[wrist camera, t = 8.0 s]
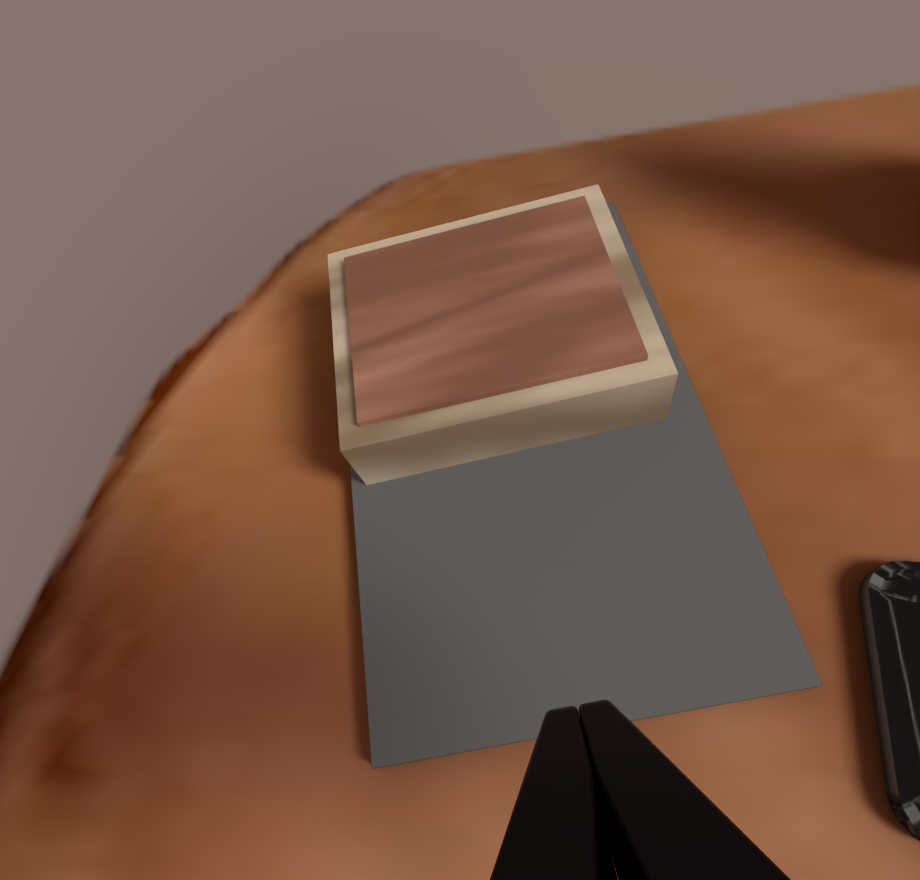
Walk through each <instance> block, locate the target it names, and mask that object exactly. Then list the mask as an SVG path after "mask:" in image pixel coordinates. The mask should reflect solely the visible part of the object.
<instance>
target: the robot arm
mask: <svg viewBox="0 0 920 880" xmlns="http://www.w3.org/2000/svg"><path fill="white" fill-rule="evenodd" d="M579 715H580V716H579ZM613 860H614V861H613ZM614 864H615V865H614ZM615 868H616V870H615ZM616 873H617V874H616ZM617 877H618V879H617ZM490 880H790V879H789V878H788V877H787V876H786V875H785V874H784V873H783V872H782V871H781V870H780V869H779V868H778V867H777V866H776V865H775V864H774V863H773V862H772V861H771V860H770V859H769V858H768V857H767V856H766V855H765V854H764V853H763V852H762V851H761V850H760V849H759V848H758V847H757V846H756V845H755V844H754V843H753V842H752V841H751V840H750V839H749V838H748V837H747V836H746V835H745V834H744V833H743V832H742V831H741V830H740V829H739V828H738V827H737V826H736V825H735V824H734V823H733V822H732V821H731V820H730V819H729V818H728V817H727V816H726V815H725V814H724V813H723V812H722V811H721V810H720V809H719V808H718V807H717V806H716V805H715V804H714V803H713V802H712V801H711V800H710V799H709V798H708V797H707V796H706V795H705V794H704V793H703V792H701V791H700V790H699V789H698V788H697V787H696V786H695V785H694V784H693V783H692V782H691V781H690V780H689V779H688V778H687V777H686V776H685V775H684V774H683V773H682V772H681V771H680V770H679V769H678V768H677V767H676V766H675V765H674V764H673V763H672V762H671V761H670V760H669V759H668V758H667V757H666V756H665V755H664V754H663V753H662V752H661V751H660V750H659V749H658V748H657V747H656V746H655V745H654V744H653V743H652V742H651V741H650V740H649V739H648V738H647V737H646V736H645V735H644V734H643V733H642V732H641V731H640V730H639V729H638V728H637V727H636V726H635V725H634V724H633V723H632V722H631V721H630V720H629V719H628V718H627V717H626V716H625V715H624V714H623V713H622V712H621V711H620V710H619V709H618V708H617V707H616V706H615V705H614V704H612V703H611V702H610V701H609V700H599V701H594V702H588V703H583V704H581V705H580V706H579V712H578V709H577V708H576V707H575V706H567V707H562V708H556V709H551V710H549V711H547V712H546V714H545V716H544V719H543V722H542V725H541V728H540V731H539V734H538V737H537V740H536V743H535V746H534V749H533V752H532V755H531V758H530V761H529V764H528V767H527V770H526V773H525V776H524V779H523V782H522V785H521V788H520V791H519V794H518V797H517V800H516V803H515V806H514V809H513V812H512V815H511V818H510V821H509V824H508V827H507V830H506V833H505V836H504V839H503V842H502V845H501V848H500V851H499V854H498V857H497V860H496V863H495V866H494V869H493V872H492V875H491V878H490Z"/></svg>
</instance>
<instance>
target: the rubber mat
mask: <svg viewBox="0 0 920 880" xmlns="http://www.w3.org/2000/svg"><path fill="white" fill-rule="evenodd" d="M606 204H607V206H608V208H609V211H610V213H611V215H612V218H613V220H614V223H615V225H616V227H617V230H618V232H619V234H620V237H621V239H622V241H623V244H624V246H625V249H626V251H627V253H628V256H629V258H630V260H631V263H632V265H633V267H634V270H635V272H636V275H637V277H638V279H639V282H640V284H641V286H642V289H643V291H644V294H645V296H646V298H647V301H648V303H649V305H650V308H651V310H652V312H653V315H654V317H655V320H656V322H657V324H658V327H659V329H660V331H661V334H662V336H663V338H664V341H665V343H666V346H667V348H668V350H669V353H670V355H671V357H672V360H673V362H674V364H675V367H676V369H677V372H678V376H677V380H676V384H675V388H674V392H673V396H672V400H671V404H670V408H669V412H668V416H667V418H663V419H659V420H654V421H650V422H645V423H641V424H636V425H632V426H628V427H623V428H619V429H614V430H610V431H605V432H601V433H596V434H592V435H588V436H583V437H579V438H574V439H570V440H565V441H561V442H556V443H552V444H548V445H543V446H539V447H534V448H530V449H525V450H521V451H516V452H512V453H507V454H503V455H499V456H494V457H490V458H485V459H481V460H476V461H472V462H467V463H463V464H459V465H454V466H450V467H445V468H441V469H436V470H432V471H427V472H423V473H419V474H414V475H410V476H405V477H401V478H396V479H392V480H387V481H383V482H379V483H374V484H370V485H366V484H365V482H364V481H363V480H362V479H361V477H360V476H359V475H358V474H357V472H356V471H355V470H354V469H353V467H352V466H351V465H350V470H351V484H352V498H353V512H354V526H355V540H356V554H357V568H358V582H359V596H360V610H361V624H362V638H363V652H364V666H365V680H366V694H367V708H368V722H369V736H370V750H371V764H372V768H381V767H386V766H392V765H397V764H402V763H408V762H413V761H419V760H424V759H430V758H435V757H440V756H446V755H451V754H457V753H462V752H467V751H473V750H478V749H484V748H489V747H495V746H500V745H505V744H511V743H516V742H522V741H527V740H532V739H537V737H538V734H539V731H540V728H541V725H542V722H543V719H544V716H545V714H546V712H547V711H549V710H551V709H556V708H562V707H567V706H575V707H576V708H577V709H578V712H579V706H580V705H581V704H583V703H588V702H594V701H599V700H609V701H610V702H611V703H612V704H614V705H615V706H616V707H617V708H618V709H619V710H620V711H621V712H622V713H623V714H624V715H625V716H626V717H627V718H628V719H629V720H630V721H635V720H641V719H646V718H652V717H657V716H662V715H668V714H673V713H679V712H684V711H690V710H695V709H700V708H706V707H711V706H717V705H722V704H727V703H733V702H738V701H744V700H749V699H755V698H760V697H765V696H771V695H776V694H782V693H787V692H792V691H798V690H803V689H809V688H814V687H818V686H821V685H822V683H821V681H820V678H819V676H818V674H817V671H816V669H815V667H814V665H813V662H812V660H811V658H810V655H809V653H808V651H807V648H806V646H805V644H804V641H803V639H802V637H801V634H800V632H799V630H798V628H797V625H796V623H795V621H794V618H793V616H792V614H791V611H790V609H789V607H788V604H787V602H786V600H785V597H784V595H783V593H782V591H781V588H780V586H779V584H778V581H777V579H776V577H775V574H774V572H773V570H772V567H771V565H770V563H769V560H768V558H767V556H766V554H765V551H764V549H763V547H762V544H761V542H760V540H759V537H758V535H757V533H756V530H755V528H754V526H753V523H752V521H751V519H750V517H749V514H748V512H747V510H746V507H745V505H744V503H743V500H742V498H741V496H740V493H739V491H738V489H737V486H736V484H735V482H734V480H733V477H732V475H731V473H730V470H729V468H728V466H727V463H726V461H725V459H724V456H723V454H722V452H721V449H720V447H719V445H718V443H717V440H716V438H715V436H714V433H713V431H712V429H711V426H710V424H709V422H708V419H707V417H706V415H705V412H704V410H703V408H702V406H701V403H700V401H699V399H698V396H697V394H696V392H695V389H694V387H693V385H692V382H691V380H690V378H689V375H688V373H687V371H686V369H685V366H684V364H683V362H682V359H681V357H680V355H679V352H678V350H677V348H676V345H675V343H674V341H673V338H672V336H671V334H670V332H669V329H668V327H667V325H666V322H665V320H664V318H663V315H662V313H661V311H660V308H659V306H658V304H657V301H656V299H655V297H654V295H653V292H652V290H651V288H650V285H649V283H648V281H647V278H646V276H645V274H644V271H643V269H642V267H641V264H640V262H639V260H638V258H637V255H636V253H635V251H634V248H633V246H632V244H631V241H630V239H629V237H628V234H627V232H626V230H625V227H624V225H623V223H622V220H621V218H620V216H619V214H618V211H617V209H616V207H615V204H614V202H609V203H606ZM579 716H580V715H579Z"/></svg>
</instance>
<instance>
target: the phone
mask: <svg viewBox="0 0 920 880" xmlns="http://www.w3.org/2000/svg"><path fill="white" fill-rule="evenodd" d="M859 602H860V609H861V616H862V623H863V630H864V637H865V645H866V652H867V659H868V666H869V673H870V680H871V687H872V694H873V701H874V708H875V715H876V722H877V730H878V737H879V744H880V751H881V758H882V765H883V772H884V779H885V786H886V792H887V796H888V799H889V803H890V806H891V808H892V810H893V811H894V813H895V815H896V817H897V818H898V820H899V822H900V823H901V824H902V825H903V826H904V827H905V828H906V829H907V830H908V831H909V832H910V833H911V834H912V835H913V836H915V837H916V838H918V839H920V562H910V561H893V562H889V563H887V564H884V565H881V566H880V567H878V568H877V569H875V570H873V571H872V572H871V573H869V574H868V575H867V576H866V577H865V578H864V579H863V581H862V583H861V586H860V588H859Z"/></svg>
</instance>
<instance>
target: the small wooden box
mask: <svg viewBox="0 0 920 880" xmlns="http://www.w3.org/2000/svg"><path fill="white" fill-rule="evenodd" d="M328 268H329V284H330V300H331V316H332V332H333V348H334V364H335V380H336V396H337V412H338V427H339V443H340V452H341V453H342V455H343V456H344V457H345V458H346V460H347V461H348V462H349V463H350V465H351V466H352V467H353V469H354V470H355V471H356V472H357V474H358V475H359V476H360V477H361V479H362V480H363V481H364V482H365V484H366V485H370V484H374V483H379V482H383V481H387V480H392V479H396V478H401V477H405V476H410V475H414V474H419V473H423V472H427V471H432V470H436V469H441V468H445V467H450V466H454V465H459V464H463V463H467V462H472V461H476V460H481V459H485V458H490V457H494V456H499V455H503V454H507V453H512V452H516V451H521V450H525V449H530V448H534V447H539V446H543V445H548V444H552V443H556V442H561V441H565V440H570V439H574V438H579V437H583V436H588V435H592V434H596V433H601V432H605V431H610V430H614V429H619V428H623V427H628V426H632V425H636V424H641V423H645V422H650V421H654V420H659V419H663V418H667V416H668V412H669V408H670V404H671V400H672V396H673V392H674V388H675V384H676V380H677V376H678V372H677V369H676V367H675V364H674V362H673V360H672V357H671V355H670V353H669V350H668V348H667V346H666V343H665V341H664V338H663V336H662V334H661V331H660V329H659V327H658V324H657V322H656V320H655V317H654V315H653V312H652V310H651V308H650V305H649V303H648V301H647V298H646V296H645V294H644V291H643V289H642V286H641V284H640V282H639V279H638V277H637V275H636V272H635V270H634V267H633V265H632V263H631V260H630V258H629V256H628V253H627V251H626V249H625V246H624V244H623V241H622V239H621V237H620V234H619V232H618V230H617V227H616V225H615V223H614V220H613V218H612V215H611V213H610V211H609V208H608V206H607V204H606V201H605V199H604V196H603V194H602V192H601V189H600V187H599V185H598V184H597V185H593V186H589V187H586V188H582V189H578V190H574V191H570V192H566V193H562V194H559V195H555V196H551V197H547V198H543V199H539V200H535V201H532V202H528V203H524V204H520V205H516V206H512V207H508V208H504V209H501V210H497V211H493V212H489V213H485V214H481V215H477V216H474V217H470V218H466V219H462V220H458V221H454V222H450V223H447V224H443V225H439V226H435V227H431V228H427V229H423V230H420V231H416V232H412V233H408V234H404V235H400V236H396V237H393V238H389V239H385V240H381V241H377V242H373V243H369V244H365V245H362V246H358V247H354V248H350V249H346V250H342V251H338V252H335V253H331V254H328Z"/></svg>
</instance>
